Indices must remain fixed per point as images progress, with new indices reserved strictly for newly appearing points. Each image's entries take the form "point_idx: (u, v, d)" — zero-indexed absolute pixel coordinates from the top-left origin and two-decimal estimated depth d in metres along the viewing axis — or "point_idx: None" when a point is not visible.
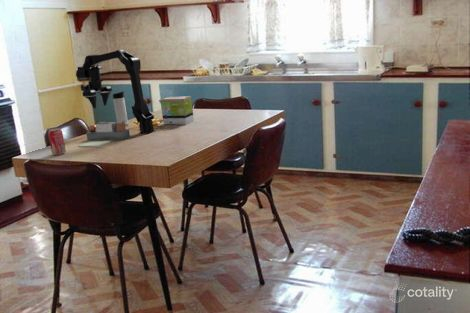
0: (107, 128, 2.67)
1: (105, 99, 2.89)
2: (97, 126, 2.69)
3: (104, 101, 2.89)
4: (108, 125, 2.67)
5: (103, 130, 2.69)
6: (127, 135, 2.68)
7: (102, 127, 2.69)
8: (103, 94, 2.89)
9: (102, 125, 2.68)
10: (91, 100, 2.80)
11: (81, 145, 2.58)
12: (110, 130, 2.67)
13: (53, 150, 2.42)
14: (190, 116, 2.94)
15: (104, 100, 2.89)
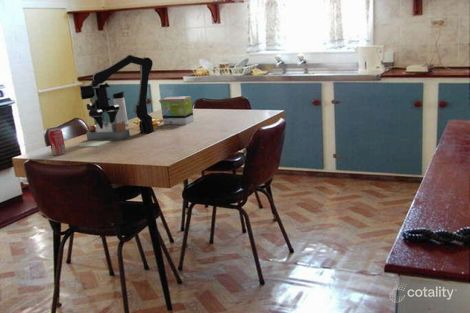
0: (107, 128, 2.67)
1: (112, 118, 2.73)
2: (97, 126, 2.69)
3: (111, 120, 2.74)
4: (108, 125, 2.67)
5: (103, 130, 2.69)
6: (127, 135, 2.68)
7: None
8: (110, 112, 2.73)
9: None
10: (98, 120, 2.64)
11: (81, 145, 2.58)
12: (110, 130, 2.67)
13: (53, 150, 2.42)
14: (190, 116, 2.94)
15: (111, 119, 2.74)
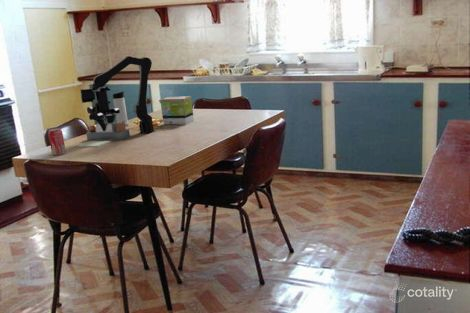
0: (107, 128, 2.67)
1: None
2: (97, 126, 2.69)
3: None
4: (108, 125, 2.67)
5: None
6: (127, 135, 2.68)
7: None
8: (109, 116, 2.72)
9: None
10: (100, 123, 2.66)
11: (81, 145, 2.58)
12: (110, 130, 2.67)
13: (53, 150, 2.42)
14: (190, 116, 2.94)
15: None
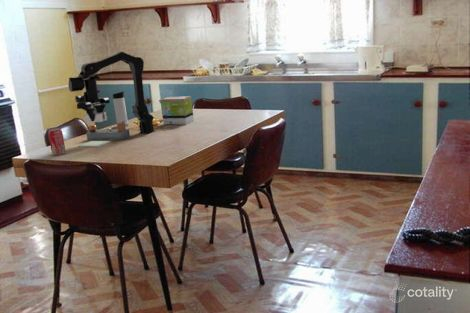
0: (95, 118, 2.59)
1: None
2: (85, 116, 2.61)
3: None
4: (96, 115, 2.58)
5: None
6: (127, 135, 2.68)
7: None
8: (98, 106, 2.63)
9: None
10: (89, 112, 2.58)
11: (81, 145, 2.58)
12: (98, 120, 2.58)
13: (53, 150, 2.42)
14: (190, 116, 2.94)
15: None
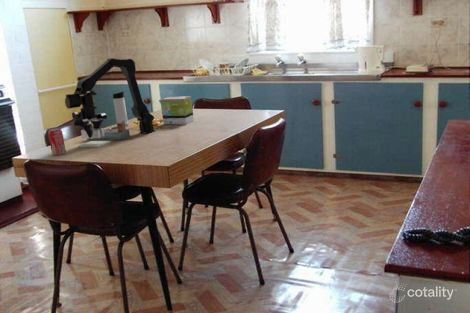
0: (93, 134, 2.56)
1: None
2: (83, 132, 2.58)
3: None
4: (94, 131, 2.55)
5: None
6: (127, 135, 2.68)
7: None
8: (95, 122, 2.60)
9: None
10: (86, 129, 2.55)
11: (81, 145, 2.58)
12: (96, 136, 2.55)
13: (53, 150, 2.42)
14: (190, 116, 2.94)
15: None
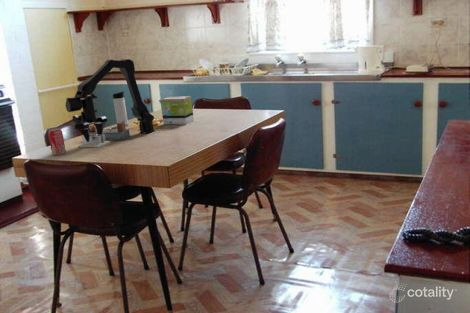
0: (94, 140, 2.56)
1: (100, 131, 2.62)
2: (84, 138, 2.58)
3: (98, 133, 2.63)
4: (95, 137, 2.56)
5: (90, 142, 2.58)
6: (127, 135, 2.68)
7: None
8: (98, 125, 2.62)
9: None
10: (84, 133, 2.53)
11: (81, 145, 2.58)
12: (97, 142, 2.56)
13: (53, 150, 2.42)
14: (190, 116, 2.94)
15: (98, 132, 2.63)
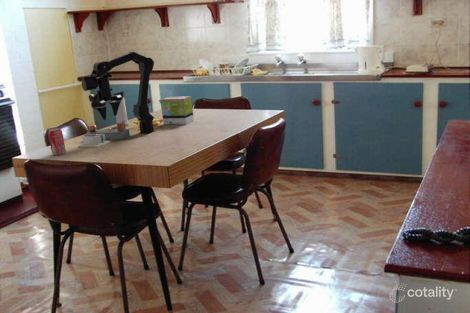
0: (94, 140, 2.56)
1: (115, 109, 2.67)
2: (84, 138, 2.58)
3: (114, 111, 2.68)
4: (95, 137, 2.56)
5: (90, 142, 2.58)
6: (127, 135, 2.68)
7: (88, 140, 2.58)
8: (113, 103, 2.67)
9: (89, 137, 2.57)
10: (101, 111, 2.58)
11: (81, 145, 2.58)
12: (97, 142, 2.56)
13: (53, 150, 2.42)
14: (190, 116, 2.94)
15: (114, 110, 2.68)
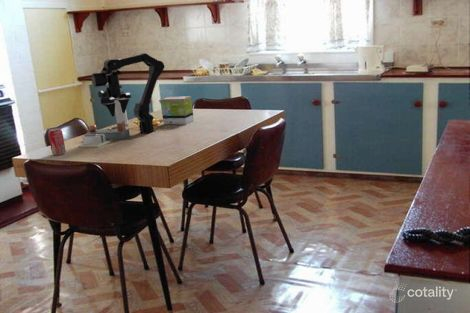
0: (94, 140, 2.56)
1: (124, 106, 2.71)
2: (84, 138, 2.58)
3: (123, 108, 2.71)
4: (95, 137, 2.56)
5: (90, 142, 2.58)
6: (127, 135, 2.68)
7: (88, 140, 2.58)
8: (122, 101, 2.71)
9: (89, 137, 2.57)
10: (109, 108, 2.62)
11: (81, 145, 2.58)
12: (97, 142, 2.56)
13: (53, 150, 2.42)
14: (190, 116, 2.94)
15: (123, 107, 2.71)
